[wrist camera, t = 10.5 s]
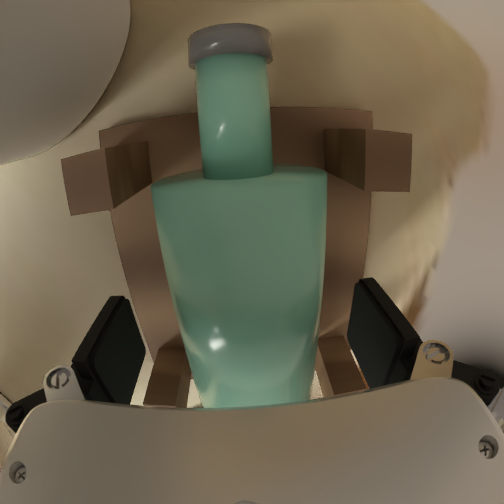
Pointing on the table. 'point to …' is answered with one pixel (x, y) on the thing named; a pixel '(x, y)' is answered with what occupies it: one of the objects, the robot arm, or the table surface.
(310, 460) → the robot arm
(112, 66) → the cylinder vase
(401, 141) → the rest
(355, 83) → the table surface
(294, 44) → the table surface
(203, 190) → the bottle
